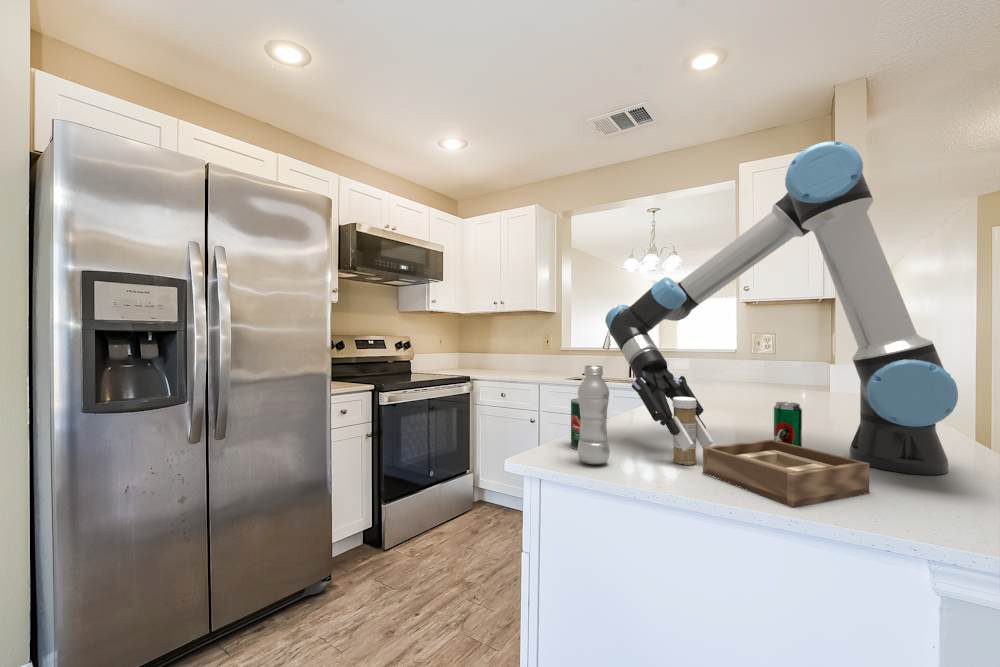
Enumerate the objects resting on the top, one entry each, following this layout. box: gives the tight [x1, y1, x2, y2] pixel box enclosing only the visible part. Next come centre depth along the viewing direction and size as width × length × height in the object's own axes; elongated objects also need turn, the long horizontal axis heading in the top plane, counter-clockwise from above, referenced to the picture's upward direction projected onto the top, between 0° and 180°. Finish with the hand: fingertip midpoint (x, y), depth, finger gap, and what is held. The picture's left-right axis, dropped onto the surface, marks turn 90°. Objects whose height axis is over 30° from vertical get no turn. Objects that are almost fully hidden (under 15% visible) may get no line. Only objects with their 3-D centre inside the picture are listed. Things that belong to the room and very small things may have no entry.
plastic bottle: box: [577, 365, 611, 465], centre depth 93 cm, size 6×7×20 cm
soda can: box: [773, 401, 803, 447], centre depth 96 cm, size 5×5×12 cm
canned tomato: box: [570, 397, 581, 450], centre depth 106 cm, size 8×8×11 cm
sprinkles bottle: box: [672, 397, 697, 466], centre depth 94 cm, size 5×5×14 cm
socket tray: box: [702, 439, 870, 508], centre depth 81 cm, size 18×18×5 cm
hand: (698, 446), depth 90 cm, fingers closed on sprinkles bottle, 4 cm apart
